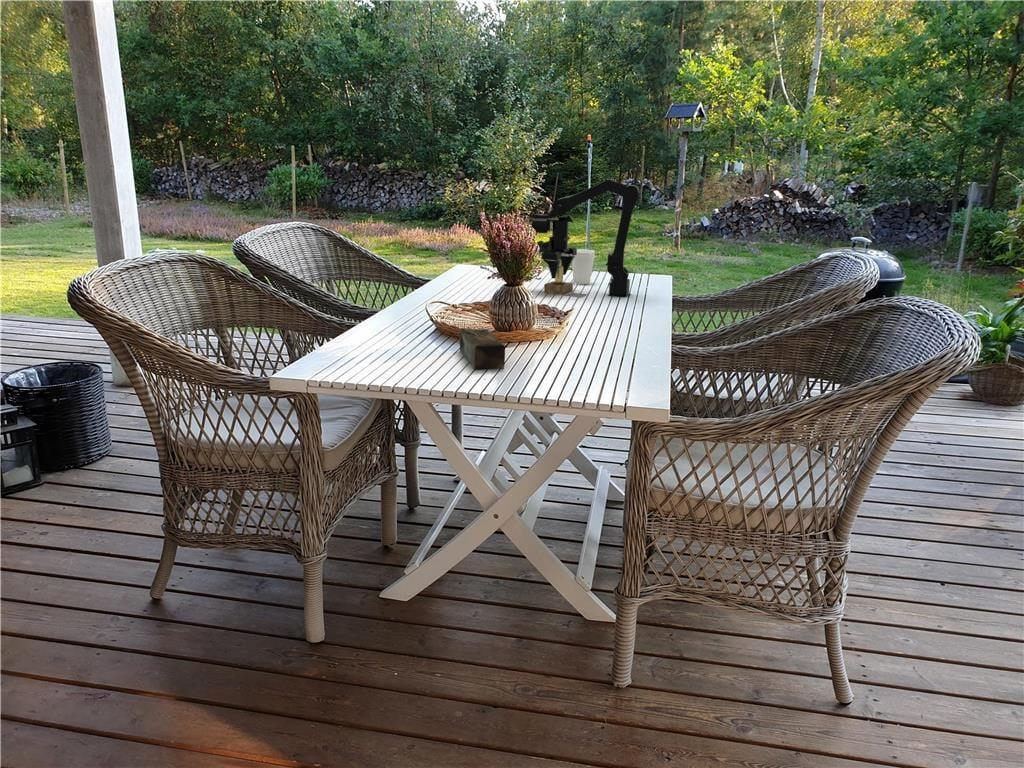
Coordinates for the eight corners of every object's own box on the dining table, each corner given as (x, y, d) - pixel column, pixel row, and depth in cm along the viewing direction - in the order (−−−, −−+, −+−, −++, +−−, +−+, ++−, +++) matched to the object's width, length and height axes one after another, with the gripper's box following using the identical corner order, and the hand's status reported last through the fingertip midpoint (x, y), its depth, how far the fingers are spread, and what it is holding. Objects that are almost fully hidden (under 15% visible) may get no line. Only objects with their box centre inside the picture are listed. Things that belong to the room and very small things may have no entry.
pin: (563, 292, 280) (564, 266, 277) (560, 294, 278) (561, 267, 275) (556, 292, 281) (557, 265, 278) (553, 293, 279) (553, 266, 276)
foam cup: (565, 282, 301) (566, 250, 297) (585, 281, 305) (586, 248, 301) (577, 286, 293) (578, 253, 289) (597, 285, 297) (599, 252, 293)
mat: (589, 295, 276) (589, 294, 276) (581, 298, 270) (581, 297, 270) (571, 293, 279) (571, 292, 279) (563, 296, 273) (563, 295, 273)
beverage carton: (488, 349, 202) (488, 325, 200) (506, 369, 184) (506, 343, 182) (459, 351, 200) (458, 327, 198) (474, 372, 182) (474, 345, 180)
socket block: (572, 292, 281) (572, 283, 280) (563, 295, 274) (564, 286, 273) (553, 290, 285) (553, 281, 284) (544, 293, 278) (544, 284, 277)
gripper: (551, 230, 284) (549, 271, 289) (528, 234, 269) (527, 278, 273) (578, 232, 279) (576, 274, 284) (556, 237, 264) (555, 281, 268)
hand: (558, 276), depth 278 cm, fingers open, 9 cm apart
